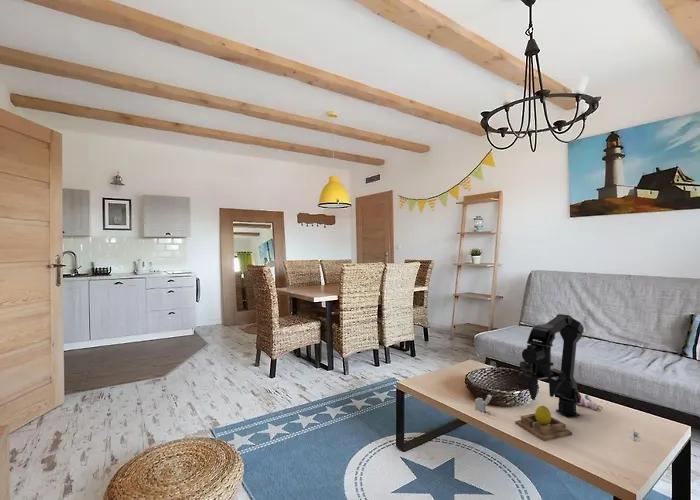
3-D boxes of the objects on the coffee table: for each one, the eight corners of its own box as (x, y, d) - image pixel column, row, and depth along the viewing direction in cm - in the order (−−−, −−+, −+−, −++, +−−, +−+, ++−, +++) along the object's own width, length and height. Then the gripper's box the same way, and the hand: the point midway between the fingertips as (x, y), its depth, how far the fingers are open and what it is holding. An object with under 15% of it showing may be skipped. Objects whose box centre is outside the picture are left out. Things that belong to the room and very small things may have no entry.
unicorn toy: (603, 412, 159) (566, 395, 170) (605, 399, 158) (568, 384, 169) (598, 416, 155) (561, 399, 166) (600, 403, 154) (563, 387, 166)
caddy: (542, 418, 150) (542, 410, 150) (572, 434, 137) (572, 425, 136) (515, 423, 145) (515, 414, 145) (543, 441, 132) (543, 431, 132)
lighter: (474, 409, 158) (474, 391, 158) (476, 408, 159) (476, 390, 159) (490, 414, 153) (490, 396, 153) (492, 413, 154) (492, 395, 154)
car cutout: (645, 445, 130) (645, 433, 130) (622, 439, 134) (622, 427, 134) (645, 429, 142) (646, 418, 141) (624, 424, 146) (624, 413, 146)
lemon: (550, 430, 137) (550, 410, 137) (534, 427, 140) (534, 406, 140) (551, 424, 142) (551, 404, 142) (535, 421, 145) (535, 401, 145)
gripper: (543, 351, 152) (543, 387, 152) (508, 355, 146) (508, 393, 146) (567, 358, 141) (567, 398, 142) (530, 363, 135) (529, 404, 136)
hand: (542, 398), depth 141 cm, fingers open, 9 cm apart
